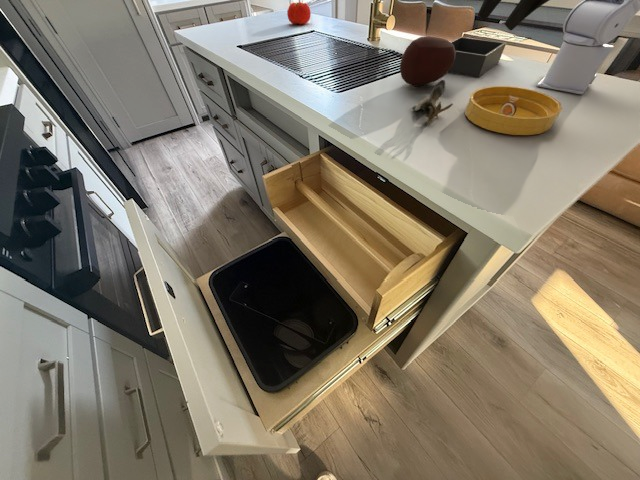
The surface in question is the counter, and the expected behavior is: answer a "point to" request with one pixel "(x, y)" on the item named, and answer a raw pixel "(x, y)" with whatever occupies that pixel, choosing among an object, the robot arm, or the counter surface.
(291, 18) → the tomato
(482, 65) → the bin
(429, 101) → the eagle figurine
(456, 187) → the counter surface
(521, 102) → the bowl
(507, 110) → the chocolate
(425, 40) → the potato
